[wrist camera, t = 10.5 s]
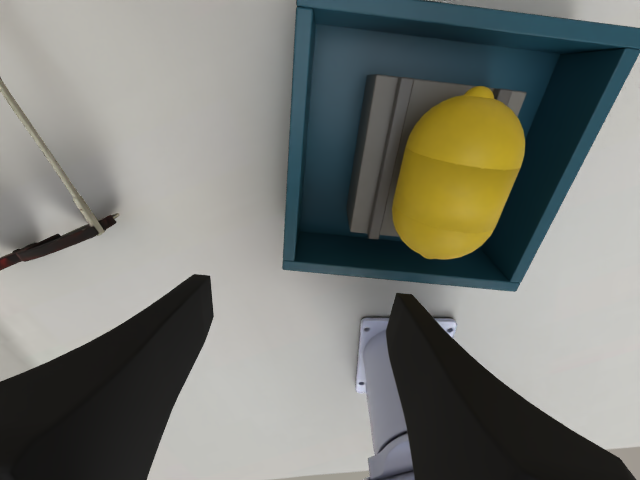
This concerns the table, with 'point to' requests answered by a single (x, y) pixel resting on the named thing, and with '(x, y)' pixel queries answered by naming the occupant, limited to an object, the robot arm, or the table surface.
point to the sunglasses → (94, 225)
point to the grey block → (394, 143)
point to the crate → (452, 67)
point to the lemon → (457, 174)
